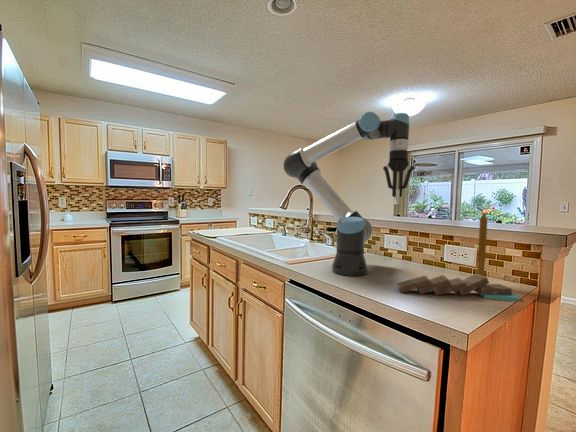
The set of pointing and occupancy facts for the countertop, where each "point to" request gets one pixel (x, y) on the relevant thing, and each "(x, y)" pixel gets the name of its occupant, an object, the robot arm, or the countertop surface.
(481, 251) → the candlestick
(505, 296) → the domino
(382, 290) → the countertop surface
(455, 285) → the domino
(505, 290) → the domino
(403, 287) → the domino
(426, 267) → the countertop surface
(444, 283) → the domino
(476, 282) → the domino
